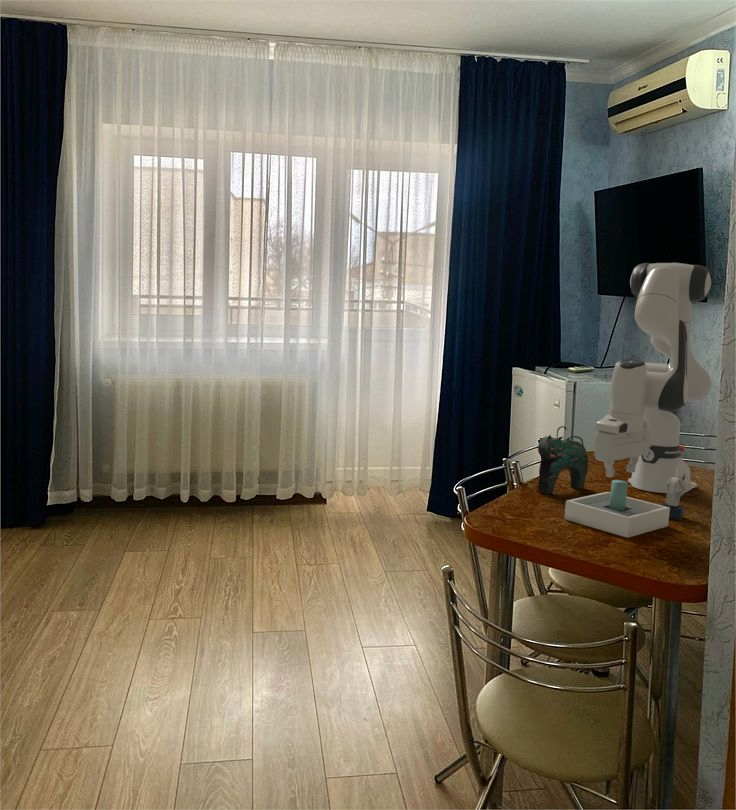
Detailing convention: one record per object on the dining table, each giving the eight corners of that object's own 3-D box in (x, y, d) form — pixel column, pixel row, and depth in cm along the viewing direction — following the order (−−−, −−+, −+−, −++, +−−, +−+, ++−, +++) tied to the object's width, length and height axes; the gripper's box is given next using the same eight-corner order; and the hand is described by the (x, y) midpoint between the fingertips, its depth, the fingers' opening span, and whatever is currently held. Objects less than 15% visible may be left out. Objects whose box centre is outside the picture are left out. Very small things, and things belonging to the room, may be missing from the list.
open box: (605, 509, 234) (607, 491, 233) (668, 526, 220) (669, 507, 219) (564, 519, 222) (565, 500, 221) (627, 537, 208) (629, 518, 207)
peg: (614, 515, 224) (617, 479, 222) (627, 519, 221) (630, 482, 219) (605, 518, 221) (608, 481, 220) (618, 521, 218) (622, 484, 217)
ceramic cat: (545, 496, 245) (550, 429, 242) (529, 491, 251) (534, 425, 248) (589, 489, 257) (595, 425, 254) (573, 484, 262) (578, 421, 259)
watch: (684, 515, 232) (689, 476, 230) (678, 521, 225) (683, 481, 223) (663, 511, 234) (667, 473, 233) (657, 518, 228) (661, 478, 226)
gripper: (636, 416, 226) (632, 466, 229) (592, 423, 213) (587, 476, 215) (657, 420, 222) (652, 471, 224) (613, 428, 208) (608, 482, 211)
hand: (620, 474), depth 219 cm, fingers open, 8 cm apart
